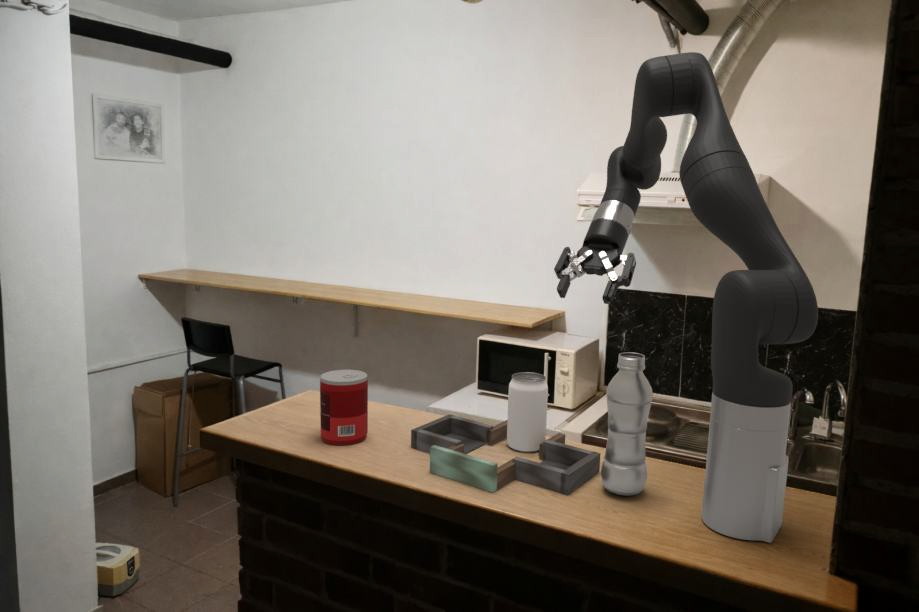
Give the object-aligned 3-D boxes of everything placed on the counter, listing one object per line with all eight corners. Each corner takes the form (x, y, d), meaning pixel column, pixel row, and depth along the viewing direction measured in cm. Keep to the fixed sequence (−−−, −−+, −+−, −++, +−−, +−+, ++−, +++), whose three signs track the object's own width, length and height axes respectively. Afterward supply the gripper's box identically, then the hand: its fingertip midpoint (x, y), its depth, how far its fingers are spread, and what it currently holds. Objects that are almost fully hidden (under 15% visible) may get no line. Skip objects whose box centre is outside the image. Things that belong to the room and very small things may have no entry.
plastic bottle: (595, 496, 98) (604, 358, 95) (604, 478, 104) (612, 348, 101) (642, 504, 96) (653, 363, 92) (648, 486, 102) (658, 352, 99)
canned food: (376, 435, 120) (377, 373, 118) (345, 449, 113) (345, 384, 112) (343, 426, 124) (342, 366, 122) (311, 439, 117) (310, 376, 116)
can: (532, 456, 112) (535, 384, 110) (499, 446, 116) (501, 377, 114) (552, 445, 117) (555, 376, 115) (519, 436, 121) (522, 369, 119)
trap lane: (613, 461, 111) (615, 437, 110) (547, 510, 94) (548, 481, 93) (466, 422, 128) (466, 401, 127) (386, 458, 110) (386, 433, 110)
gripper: (569, 214, 134) (541, 281, 127) (642, 219, 126) (616, 290, 119) (579, 239, 139) (552, 305, 132) (649, 245, 132) (625, 315, 125)
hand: (582, 298), depth 126 cm, fingers open, 8 cm apart
